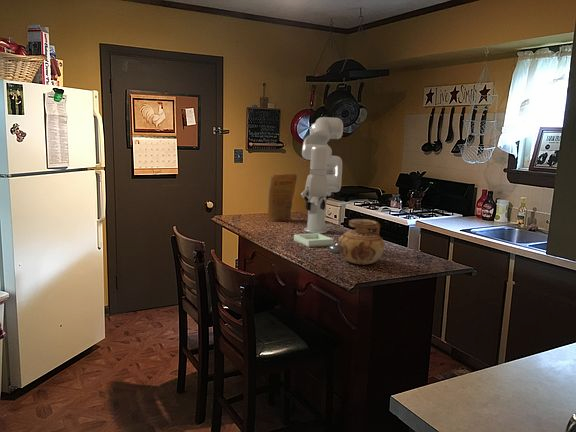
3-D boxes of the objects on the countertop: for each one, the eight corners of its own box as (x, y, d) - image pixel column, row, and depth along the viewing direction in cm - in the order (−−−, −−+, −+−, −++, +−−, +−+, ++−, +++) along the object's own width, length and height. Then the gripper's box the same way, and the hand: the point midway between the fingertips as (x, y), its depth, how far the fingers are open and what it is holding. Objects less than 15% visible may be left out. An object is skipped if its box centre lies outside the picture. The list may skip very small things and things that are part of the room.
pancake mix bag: (296, 221, 290) (299, 174, 285) (268, 222, 281) (271, 174, 276) (291, 219, 296) (294, 173, 291) (263, 220, 286) (266, 173, 282)
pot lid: (339, 248, 225) (340, 241, 225) (349, 253, 219) (350, 245, 218) (325, 249, 222) (326, 242, 221) (335, 254, 215) (335, 246, 214)
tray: (318, 238, 244) (318, 233, 244) (333, 245, 232) (333, 239, 232) (293, 240, 237) (294, 234, 237) (308, 247, 225) (308, 240, 225)
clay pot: (355, 263, 189) (349, 214, 193) (333, 269, 206) (327, 223, 210) (395, 260, 197) (388, 213, 201) (371, 266, 214) (364, 222, 217)
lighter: (309, 213, 228) (310, 197, 226) (307, 213, 229) (308, 196, 228) (322, 213, 231) (323, 196, 229) (320, 212, 232) (321, 196, 231)
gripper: (329, 171, 233) (326, 207, 237) (297, 171, 225) (295, 208, 229) (337, 173, 227) (334, 210, 231) (305, 173, 219) (303, 212, 222)
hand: (315, 209), depth 230 cm, fingers closed on lighter, 7 cm apart
